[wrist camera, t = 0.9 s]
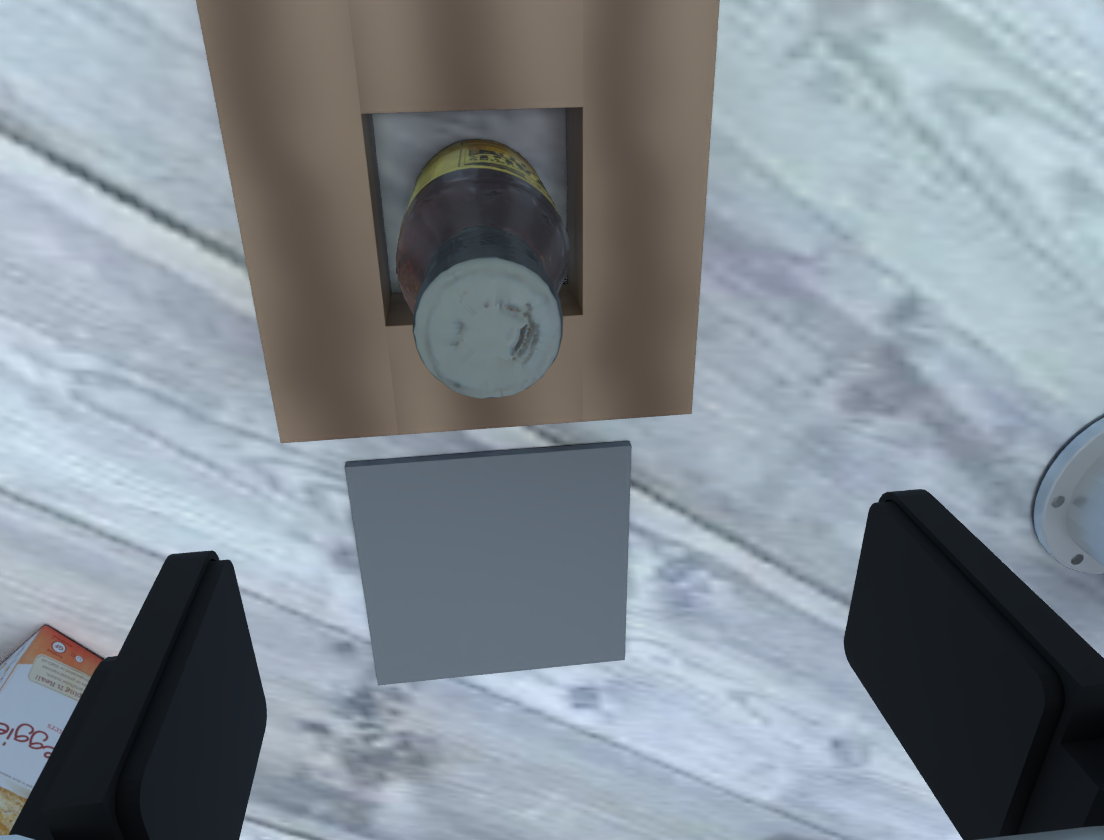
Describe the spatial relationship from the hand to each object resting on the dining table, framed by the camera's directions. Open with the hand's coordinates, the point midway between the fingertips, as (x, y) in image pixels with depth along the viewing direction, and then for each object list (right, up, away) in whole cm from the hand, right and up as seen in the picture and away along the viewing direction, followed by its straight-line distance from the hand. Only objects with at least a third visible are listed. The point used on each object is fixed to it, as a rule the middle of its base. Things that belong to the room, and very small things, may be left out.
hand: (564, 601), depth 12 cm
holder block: (-4, +13, +27) cm, 31 cm away
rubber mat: (-4, -6, +37) cm, 38 cm away
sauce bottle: (-4, +14, +27) cm, 31 cm away
